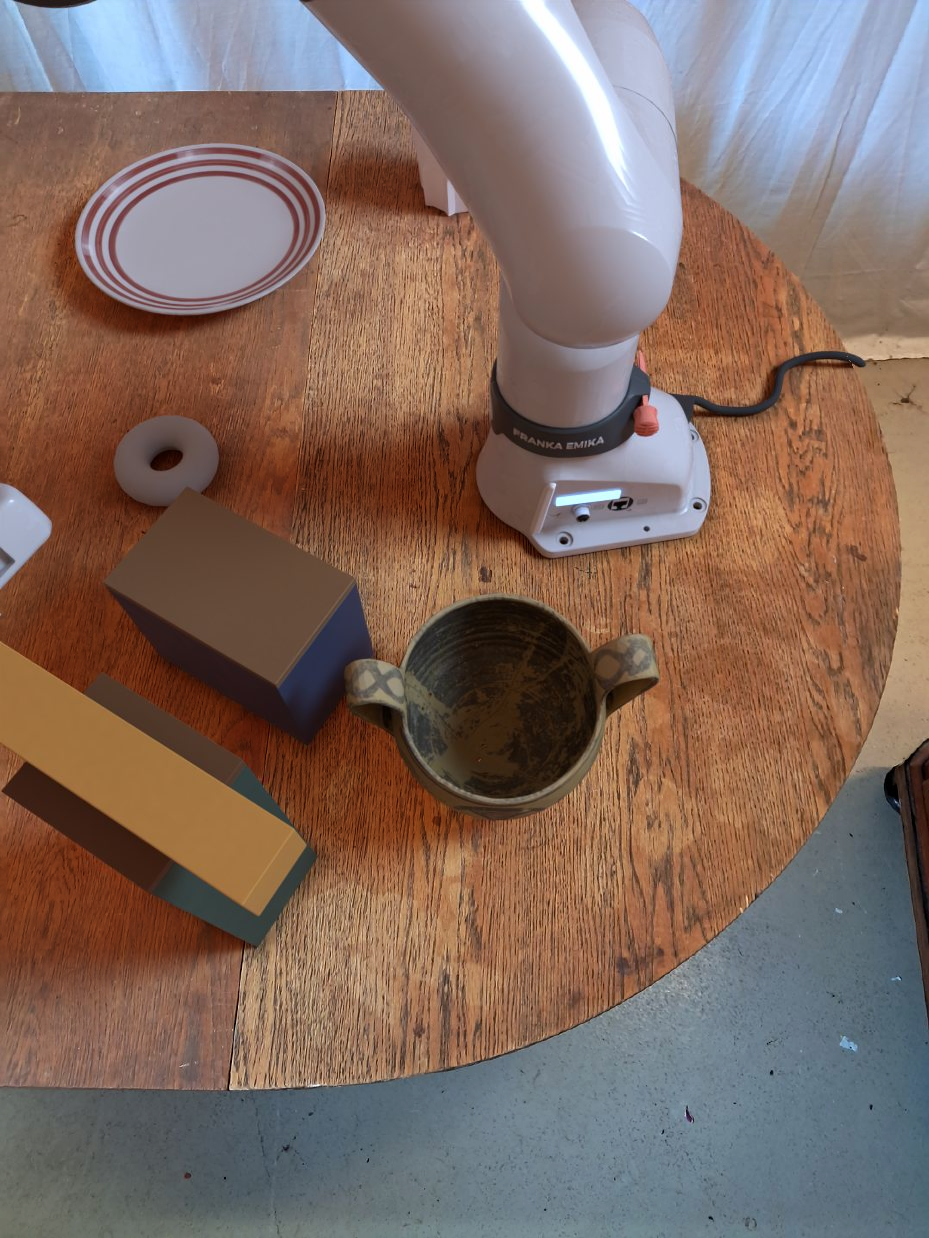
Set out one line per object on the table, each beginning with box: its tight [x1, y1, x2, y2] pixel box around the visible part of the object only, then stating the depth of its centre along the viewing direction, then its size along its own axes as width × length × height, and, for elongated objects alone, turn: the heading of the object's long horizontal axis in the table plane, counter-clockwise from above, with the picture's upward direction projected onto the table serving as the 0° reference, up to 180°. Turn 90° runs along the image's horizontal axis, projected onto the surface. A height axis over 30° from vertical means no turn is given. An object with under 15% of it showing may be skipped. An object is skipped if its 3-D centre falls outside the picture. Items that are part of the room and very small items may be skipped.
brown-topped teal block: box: [0, 671, 319, 948], centre depth 59 cm, size 10×8×26 cm
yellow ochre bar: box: [0, 640, 307, 916], centre depth 45 cm, size 26×4×4 cm, turn 59°
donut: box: [112, 414, 220, 507], centre depth 86 cm, size 10×4×10 cm
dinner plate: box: [74, 142, 326, 316], centre depth 100 cm, size 27×27×3 cm
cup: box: [409, 121, 469, 217], centre depth 100 cm, size 10×10×10 cm
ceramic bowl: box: [344, 592, 661, 822], centre depth 69 cm, size 22×17×15 cm
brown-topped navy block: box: [102, 487, 375, 747], centre depth 73 cm, size 16×10×14 cm, turn 59°
